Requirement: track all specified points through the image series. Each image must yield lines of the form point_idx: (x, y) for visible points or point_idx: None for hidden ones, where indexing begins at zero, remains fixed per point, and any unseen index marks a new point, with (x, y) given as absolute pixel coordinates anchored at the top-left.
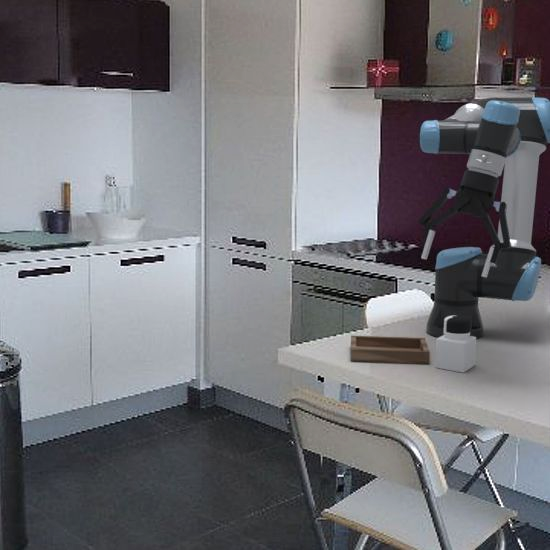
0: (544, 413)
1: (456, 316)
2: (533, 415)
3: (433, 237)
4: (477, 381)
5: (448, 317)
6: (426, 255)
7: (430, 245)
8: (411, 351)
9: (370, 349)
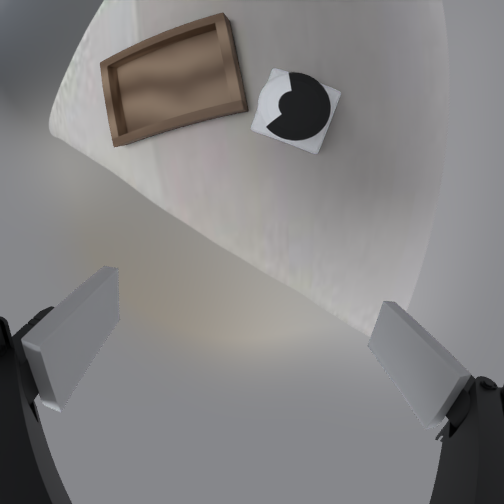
0: None
1: (290, 99)
2: None
3: (62, 325)
4: (338, 194)
5: (268, 111)
6: (112, 307)
7: (88, 314)
8: (207, 117)
9: (138, 133)
